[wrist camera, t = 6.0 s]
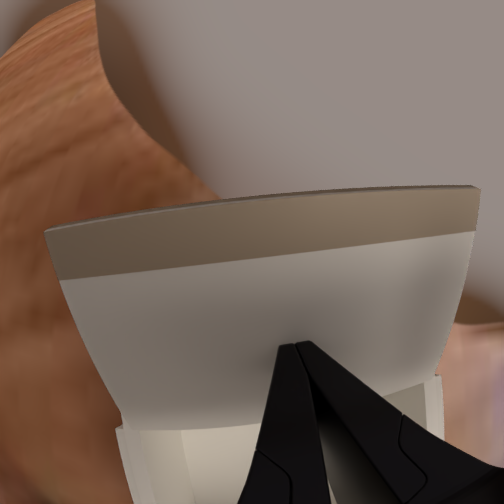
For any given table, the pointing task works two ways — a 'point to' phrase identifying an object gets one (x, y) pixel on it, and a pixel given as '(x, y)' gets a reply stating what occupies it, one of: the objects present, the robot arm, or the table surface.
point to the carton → (229, 453)
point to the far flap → (263, 294)
